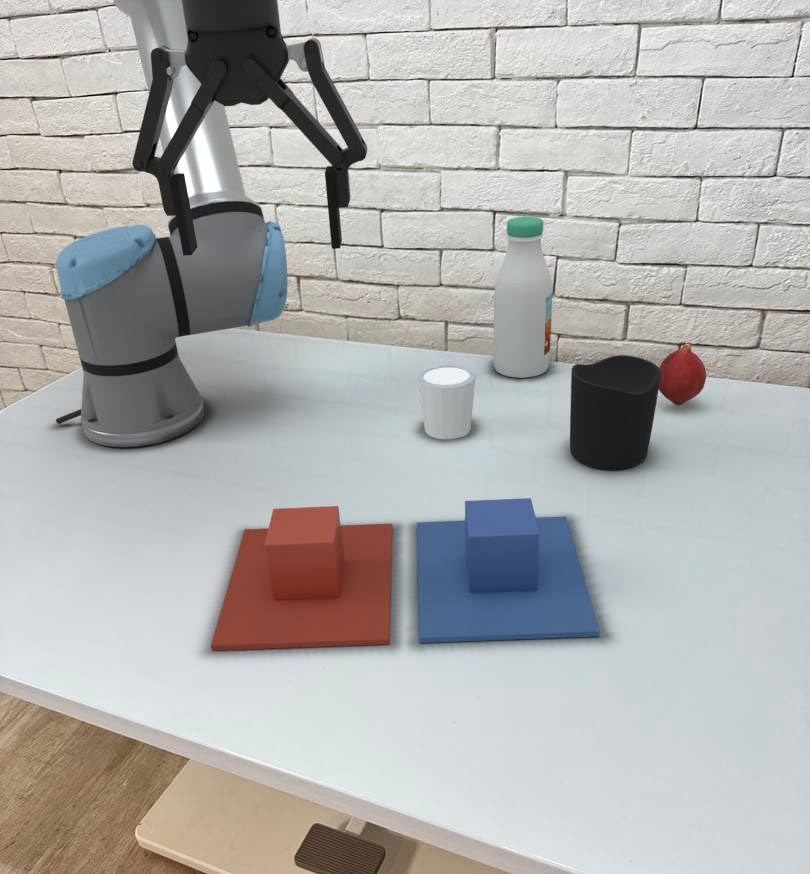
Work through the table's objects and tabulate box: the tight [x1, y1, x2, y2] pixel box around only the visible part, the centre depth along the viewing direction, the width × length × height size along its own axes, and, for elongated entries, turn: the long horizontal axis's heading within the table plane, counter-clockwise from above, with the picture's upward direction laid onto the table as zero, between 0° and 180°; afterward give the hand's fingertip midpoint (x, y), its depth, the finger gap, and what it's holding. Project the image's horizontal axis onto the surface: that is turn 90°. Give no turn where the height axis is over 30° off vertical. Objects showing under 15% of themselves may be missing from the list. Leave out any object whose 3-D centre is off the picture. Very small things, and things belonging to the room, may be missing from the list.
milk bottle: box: [493, 216, 553, 379], centre depth 114 cm, size 8×8×20 cm
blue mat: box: [416, 515, 600, 644], centre depth 78 cm, size 15×18×1 cm
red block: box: [264, 505, 344, 600], centre depth 77 cm, size 6×6×6 cm
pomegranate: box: [658, 343, 707, 406], centre depth 105 cm, size 6×6×8 cm
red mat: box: [210, 522, 393, 651], centre depth 79 cm, size 15×18×1 cm
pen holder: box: [569, 354, 661, 471], centre depth 95 cm, size 9×9×10 cm
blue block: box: [464, 497, 540, 593], centre depth 77 cm, size 6×6×6 cm
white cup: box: [417, 364, 476, 440], centre depth 103 cm, size 7×7×7 cm
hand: (263, 248), depth 79 cm, fingers open, 13 cm apart
